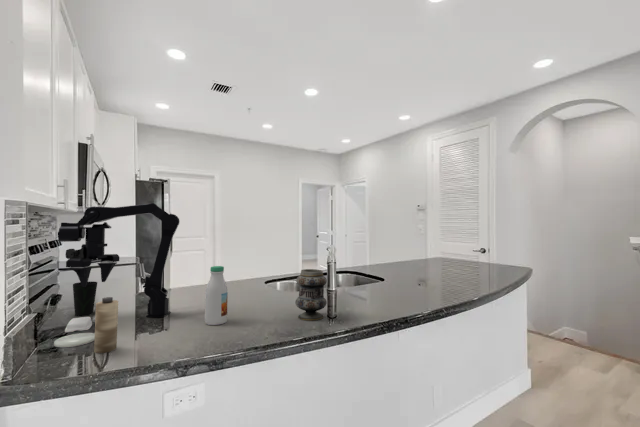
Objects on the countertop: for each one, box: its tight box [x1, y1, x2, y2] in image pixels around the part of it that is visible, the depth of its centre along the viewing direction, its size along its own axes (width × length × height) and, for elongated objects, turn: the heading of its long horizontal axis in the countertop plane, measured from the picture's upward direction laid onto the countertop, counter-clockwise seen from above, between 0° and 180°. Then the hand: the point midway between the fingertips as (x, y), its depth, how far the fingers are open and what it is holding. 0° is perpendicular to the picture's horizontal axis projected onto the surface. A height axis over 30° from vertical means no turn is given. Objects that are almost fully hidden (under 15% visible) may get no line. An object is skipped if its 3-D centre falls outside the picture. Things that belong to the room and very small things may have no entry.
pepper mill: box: [93, 296, 119, 354], centre depth 88 cm, size 5×5×14 cm
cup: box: [72, 281, 98, 317], centre depth 122 cm, size 8×8×12 cm
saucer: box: [53, 332, 95, 349], centre depth 94 cm, size 10×10×1 cm
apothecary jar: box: [295, 268, 328, 322], centre depth 121 cm, size 12×12×18 cm
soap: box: [64, 316, 93, 333], centre depth 106 cm, size 9×7×3 cm
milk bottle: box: [204, 265, 229, 326], centre depth 114 cm, size 8×8×20 cm
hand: (94, 284), depth 114 cm, fingers open, 9 cm apart
